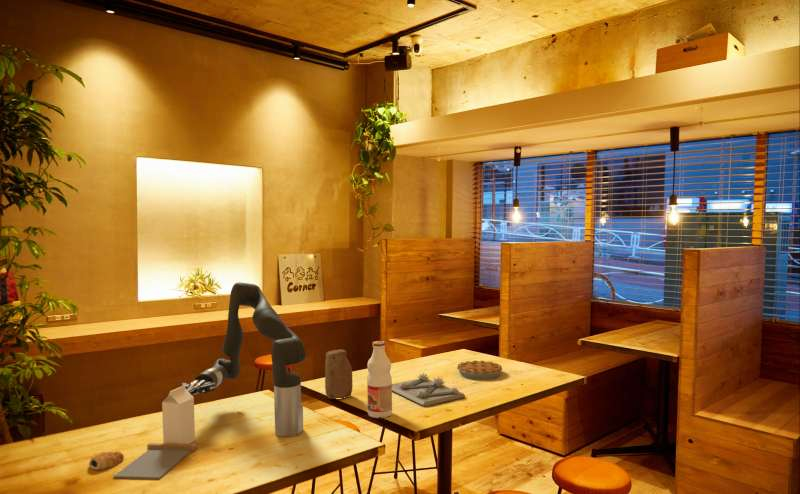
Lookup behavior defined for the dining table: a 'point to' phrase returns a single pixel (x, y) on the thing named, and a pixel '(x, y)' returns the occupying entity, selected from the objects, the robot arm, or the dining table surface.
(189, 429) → the milk carton
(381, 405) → the fruit juice
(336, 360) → the block
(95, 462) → the pastry
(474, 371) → the pie
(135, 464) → the grey flat board
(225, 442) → the dining table surface
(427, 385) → the decorative plate
